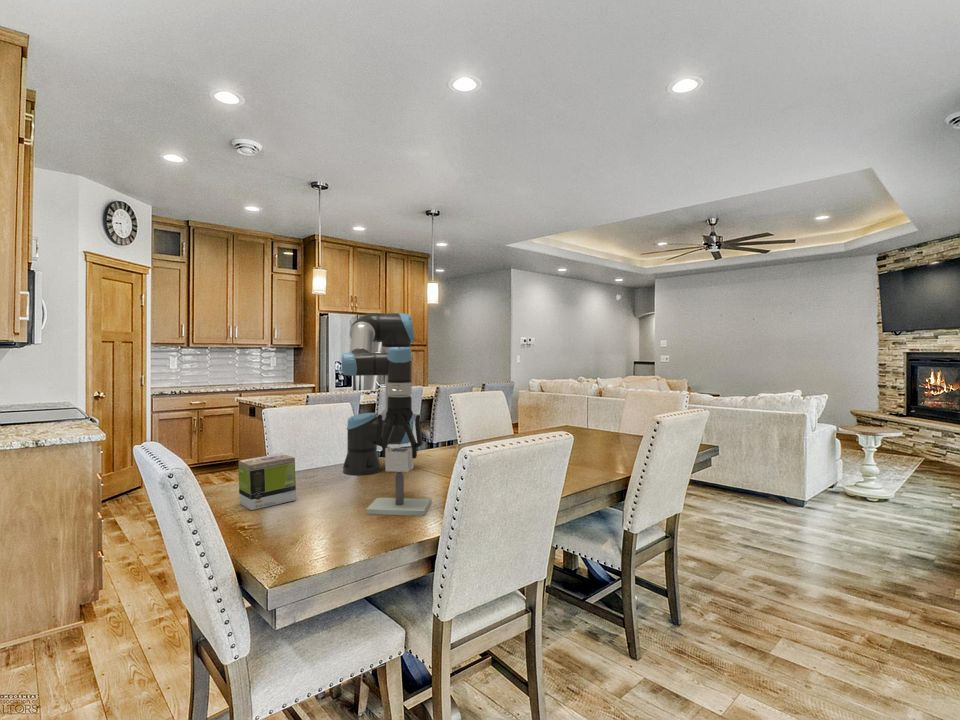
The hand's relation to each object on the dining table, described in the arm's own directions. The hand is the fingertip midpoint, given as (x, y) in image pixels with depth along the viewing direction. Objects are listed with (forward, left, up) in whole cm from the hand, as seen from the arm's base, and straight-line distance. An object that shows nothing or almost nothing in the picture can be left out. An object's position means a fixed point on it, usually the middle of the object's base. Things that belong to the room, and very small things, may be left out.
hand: (399, 467), depth 165 cm
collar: (0, 0, 0) cm, 0 cm away
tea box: (-2, -45, -13) cm, 47 cm away
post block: (0, 0, -13) cm, 13 cm away
